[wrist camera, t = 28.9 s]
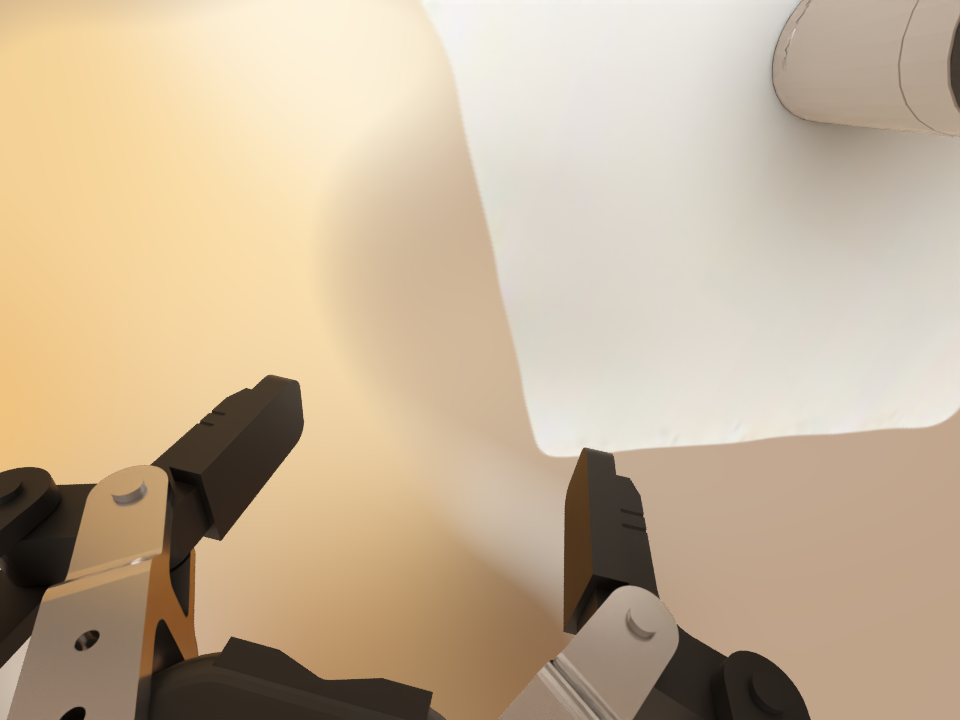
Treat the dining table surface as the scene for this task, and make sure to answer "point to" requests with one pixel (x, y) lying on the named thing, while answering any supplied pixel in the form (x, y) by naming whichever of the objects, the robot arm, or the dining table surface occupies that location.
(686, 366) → the dining table surface
